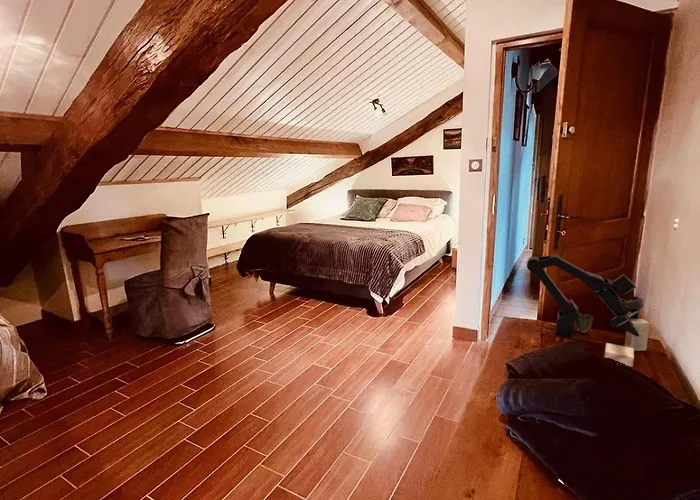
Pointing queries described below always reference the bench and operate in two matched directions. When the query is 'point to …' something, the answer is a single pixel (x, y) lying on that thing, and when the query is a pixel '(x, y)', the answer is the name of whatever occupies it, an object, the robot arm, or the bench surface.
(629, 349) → the birch block
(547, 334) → the bench surface
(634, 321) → the skincare box
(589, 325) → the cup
